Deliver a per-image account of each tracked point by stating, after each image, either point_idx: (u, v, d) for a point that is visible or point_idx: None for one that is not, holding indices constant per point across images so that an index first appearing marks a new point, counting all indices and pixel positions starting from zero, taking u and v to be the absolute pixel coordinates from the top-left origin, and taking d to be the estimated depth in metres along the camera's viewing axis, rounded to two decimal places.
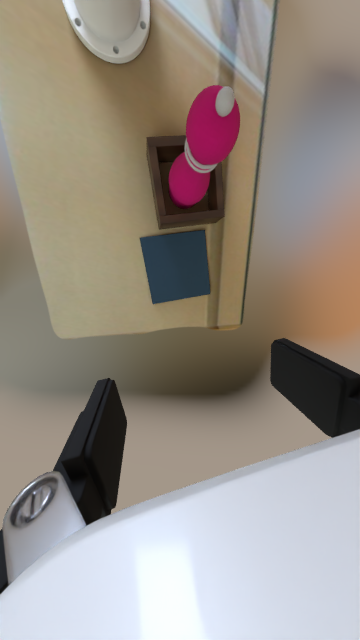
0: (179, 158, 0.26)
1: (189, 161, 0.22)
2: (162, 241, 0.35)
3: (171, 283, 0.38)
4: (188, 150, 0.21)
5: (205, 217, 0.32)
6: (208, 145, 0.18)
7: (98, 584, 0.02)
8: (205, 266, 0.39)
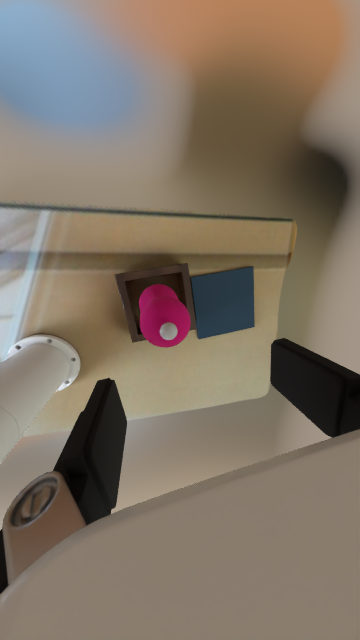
0: None
1: None
2: (201, 319, 0.37)
3: (238, 310, 0.38)
4: None
5: (189, 285, 0.31)
6: (187, 331, 0.19)
7: (98, 584, 0.02)
8: (225, 274, 0.36)
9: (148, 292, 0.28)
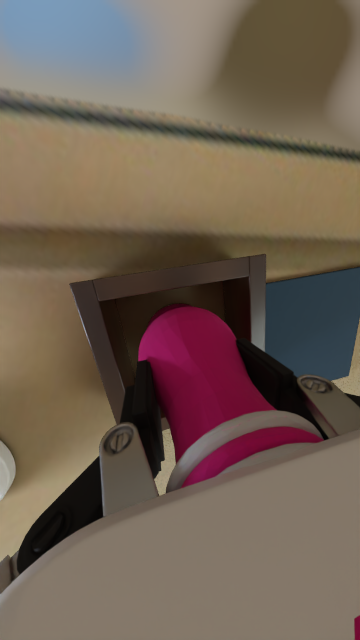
0: None
1: None
2: None
3: (328, 348, 0.20)
4: None
5: (263, 309, 0.12)
6: None
7: (98, 584, 0.02)
8: (317, 280, 0.17)
9: (167, 338, 0.09)
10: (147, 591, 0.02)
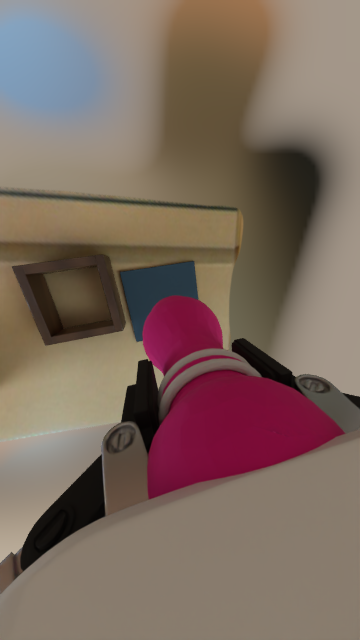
0: None
1: None
2: (137, 320, 0.33)
3: None
4: None
5: (108, 280, 0.27)
6: None
7: (98, 584, 0.02)
8: (161, 269, 0.32)
9: (165, 316, 0.13)
10: (147, 590, 0.02)
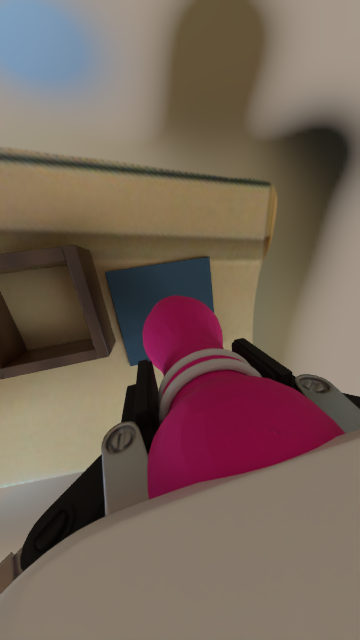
0: None
1: None
2: (131, 337, 0.24)
3: None
4: None
5: (85, 284, 0.18)
6: None
7: (98, 584, 0.02)
8: (164, 268, 0.23)
9: (165, 316, 0.13)
10: (147, 591, 0.02)
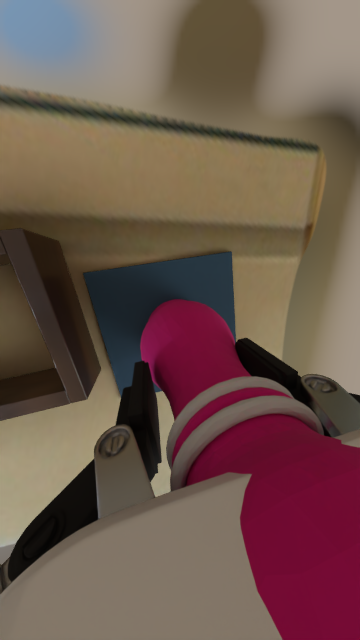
0: None
1: None
2: (123, 364, 0.18)
3: None
4: None
5: (43, 293, 0.11)
6: None
7: (98, 584, 0.02)
8: (168, 267, 0.16)
9: (169, 326, 0.10)
10: (147, 591, 0.02)
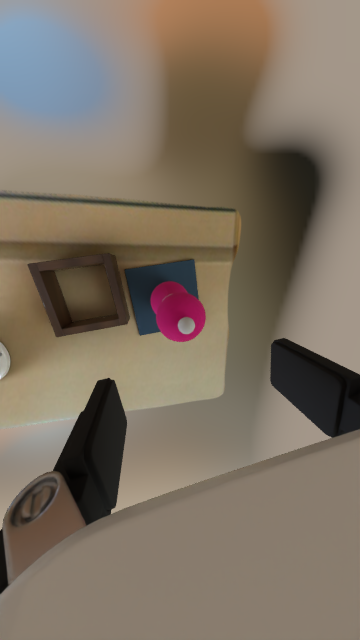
0: None
1: None
2: (141, 315, 0.36)
3: None
4: None
5: (114, 277, 0.29)
6: (202, 327, 0.20)
7: (98, 584, 0.02)
8: (163, 267, 0.34)
9: (161, 288, 0.28)
10: (147, 591, 0.02)
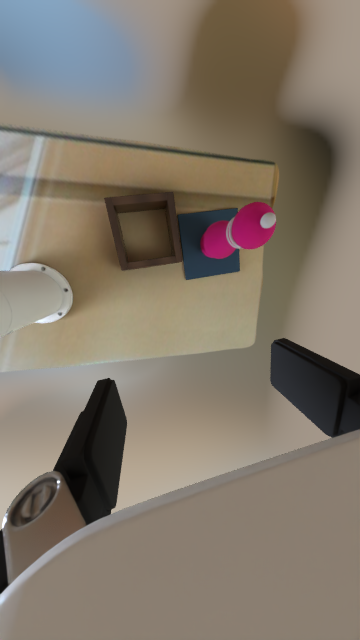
0: (218, 249, 0.33)
1: None
2: (188, 259, 0.39)
3: None
4: None
5: (175, 214, 0.33)
6: None
7: (98, 584, 0.02)
8: (211, 213, 0.38)
9: (218, 223, 0.32)
10: (147, 591, 0.02)
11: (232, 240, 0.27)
